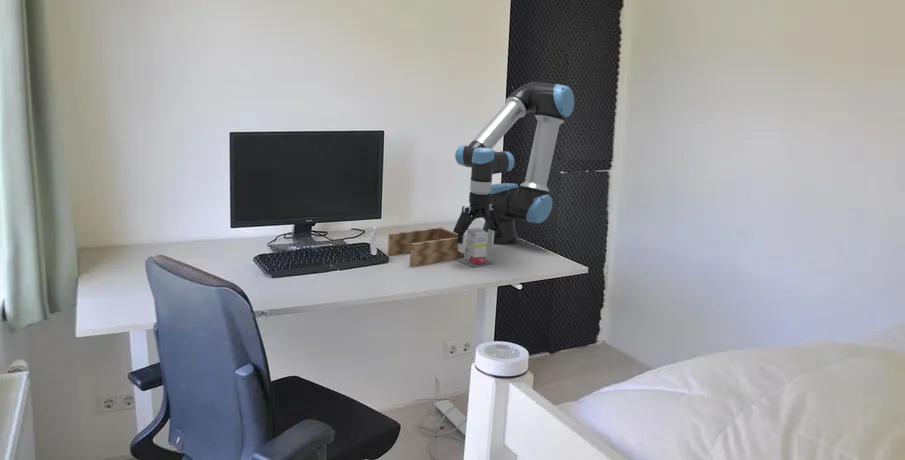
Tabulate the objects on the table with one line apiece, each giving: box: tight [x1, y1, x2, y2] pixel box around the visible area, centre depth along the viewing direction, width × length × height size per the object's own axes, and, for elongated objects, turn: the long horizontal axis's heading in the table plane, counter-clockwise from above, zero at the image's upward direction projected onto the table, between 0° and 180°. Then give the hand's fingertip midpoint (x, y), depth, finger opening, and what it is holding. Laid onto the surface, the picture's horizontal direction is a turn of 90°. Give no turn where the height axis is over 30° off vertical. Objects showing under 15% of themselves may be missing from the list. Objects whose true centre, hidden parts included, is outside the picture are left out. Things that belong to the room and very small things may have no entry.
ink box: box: [464, 226, 488, 264], centre depth 256 cm, size 9×5×12 cm, turn 23°
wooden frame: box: [387, 226, 465, 267], centre depth 259 cm, size 24×15×8 cm, turn 129°
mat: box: [454, 256, 494, 269], centre depth 258 cm, size 10×10×1 cm
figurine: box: [364, 225, 380, 255], centre depth 252 cm, size 9×9×12 cm
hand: (475, 249), depth 257 cm, fingers open, 13 cm apart
